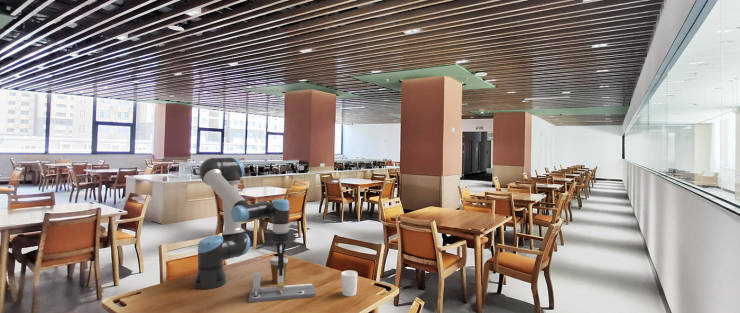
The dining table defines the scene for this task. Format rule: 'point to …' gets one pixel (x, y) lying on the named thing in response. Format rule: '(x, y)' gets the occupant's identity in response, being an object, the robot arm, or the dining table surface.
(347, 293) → the white cup
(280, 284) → the gold pointer slider
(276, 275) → the disposable coffee cup
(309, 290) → the gauge plate
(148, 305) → the dining table surface
